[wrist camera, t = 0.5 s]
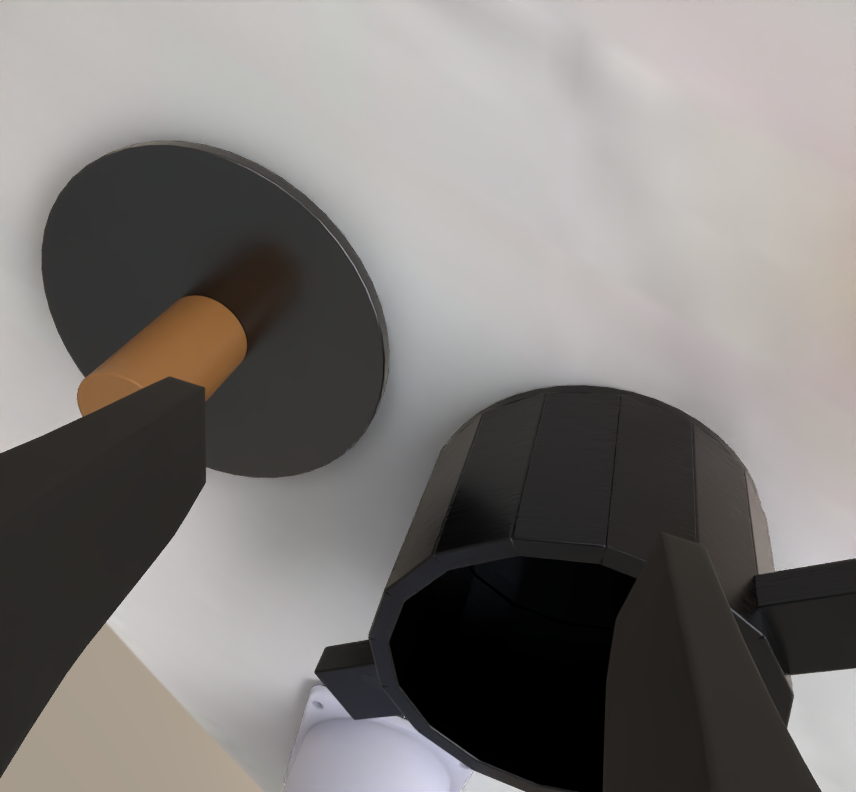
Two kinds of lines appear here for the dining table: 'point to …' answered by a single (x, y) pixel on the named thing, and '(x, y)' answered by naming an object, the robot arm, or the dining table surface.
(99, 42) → the dining table surface
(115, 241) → the lid
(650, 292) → the dining table surface
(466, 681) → the pot
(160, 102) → the dining table surface
